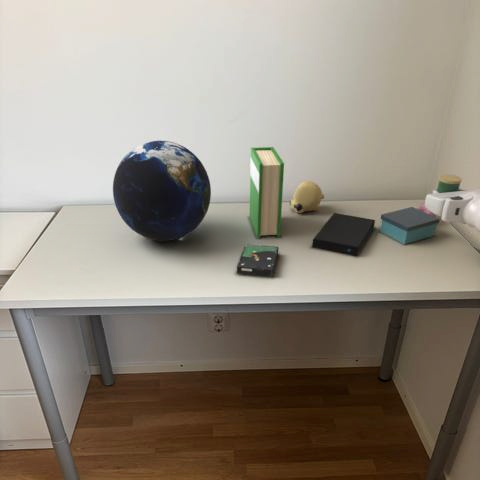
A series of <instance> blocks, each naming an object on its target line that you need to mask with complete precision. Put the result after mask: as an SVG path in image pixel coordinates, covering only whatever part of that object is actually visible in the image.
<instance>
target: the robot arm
mask: <svg viewBox="0 0 480 480" xmlns="http://www.w3.org/2000/svg"><path fill="white" fill-rule="evenodd" d="M440 192H441V191H439V190H437V189H433V190H432V193H427V195H426V197H425V200H424V203H425V207H426V208H427V209H428V210H430V211H431V212H432V213H434V214H436V216H438V217H441V220H442V221H443V222H447V223H458V224H462V225H468V226H469V227H471V228H474V229H475V230H476V231H477V232H478V233H480V189H479V188H477V189H469V190H468V189H463V188H460V187H459V191H456V192H446V193H440Z"/></svg>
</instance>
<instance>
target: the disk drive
mask: <svg viewBox="0 0 480 480" xmlns="http://www.w3.org/2000/svg"><path fill="white" fill-rule="evenodd" d="M278 256H279V246H275V245H257V244H255V245H253V244H246V245H244V247H243V249H242V253H241V254H240V258H239V260H238V261H237V265H236V274H239V275H248V276H258V277H273V274H274V270H275V267H276V264H277V259H278Z"/></svg>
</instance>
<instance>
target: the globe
mask: <svg viewBox="0 0 480 480" xmlns="http://www.w3.org/2000/svg"><path fill="white" fill-rule="evenodd" d="M112 196H113V200H114V202H113V203H114V206H115V208H116V210H117V212H118V214H119V216H120V218H121V219H122V220H123V222H124V223H125V224H126V225H127V226H128V227H129V228H130V229H131V230H132V231H134V232H135V233H136V234H139V236H142V237H144V238H146V239H148V240H152V241H159V242H168V241H170V242H171V241H175V240H178V239H181V238H183V237H186V236H188V235H189V234H191V233H192V232H193V231H194V230H196V229H197V227H199V226H200V224H201V223H202V222H203V221H204V218H205V217H206V215H207V213H208V211H209V208H210V203H211V197H212V189H211V181H210V178H209V175H208V171H207V169H206V168H205V166H204V164H203V163H202V162H201V160H200V159H199V158H198V157H197V156H196V154H195V153H194V152H193V151H191V150H189V148H187V147H186V146H183V145H181V144H179V143H176V142H174V141H169V140H151V141H147V142H144V143H141V144H139V145H138V146H136V147H134V148H132V149H131V150H130V151H129V152H127V154H125V156H123V158H122V159H121V161H120V162H119V164H118V166H117V168H116V170H115V172H114V176H113V181H112Z"/></svg>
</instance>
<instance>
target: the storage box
mask: <svg viewBox="0 0 480 480" xmlns="http://www.w3.org/2000/svg"><path fill="white" fill-rule="evenodd" d="M416 208H417V207H414V206H410V207H405V208H402V209H398V210H393V211H390V212H386V213H383V214H380V218H379V219H381V224H380V229H379V232H380V233H382V234H383V235H385V236H387V237H389V238H391V239H393V240H395V241H397V242H399V243H401V244H403V245H408V244H411V243H414V242H417V241H418V242H419V241H421V240H424V239H428V238H431V237H434V236H435V232H436V230H437V229H436V228H437V224H440V218H438V217H436V216H435V217H434V216H432V215H429V214H427V213H425V212H423V211H420V210H418V209H416Z"/></svg>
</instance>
